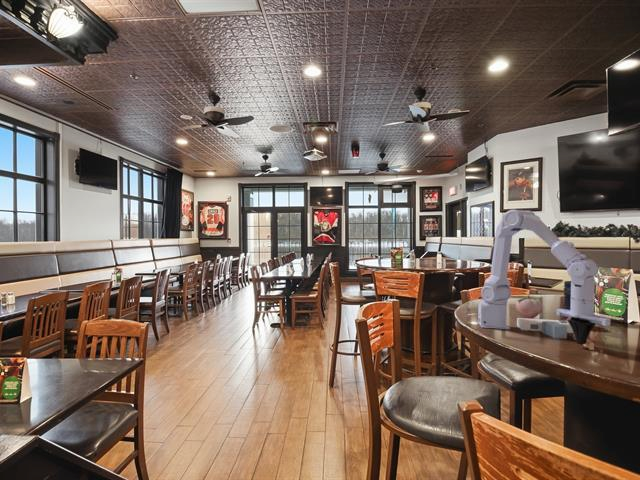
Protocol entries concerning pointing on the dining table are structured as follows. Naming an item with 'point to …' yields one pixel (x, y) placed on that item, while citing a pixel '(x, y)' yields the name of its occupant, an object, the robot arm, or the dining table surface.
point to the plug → (554, 329)
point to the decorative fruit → (528, 307)
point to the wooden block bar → (588, 343)
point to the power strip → (538, 324)
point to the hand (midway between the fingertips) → (581, 343)
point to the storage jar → (567, 296)
